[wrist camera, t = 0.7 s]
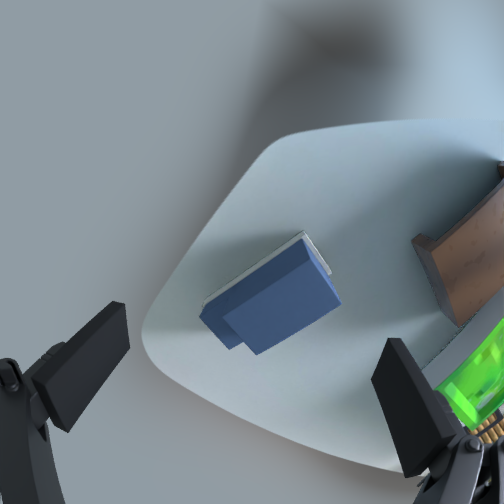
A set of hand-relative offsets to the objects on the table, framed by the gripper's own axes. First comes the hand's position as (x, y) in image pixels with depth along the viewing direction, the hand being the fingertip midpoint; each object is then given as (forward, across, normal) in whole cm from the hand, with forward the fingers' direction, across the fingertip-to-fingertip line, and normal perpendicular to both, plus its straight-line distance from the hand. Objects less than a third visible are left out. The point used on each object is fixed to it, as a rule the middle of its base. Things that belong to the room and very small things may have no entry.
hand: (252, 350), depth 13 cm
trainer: (+19, 0, -4) cm, 19 cm away
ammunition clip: (+19, +54, -33) cm, 66 cm away
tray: (+19, +43, -13) cm, 49 cm away
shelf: (+19, +28, +6) cm, 35 cm away
